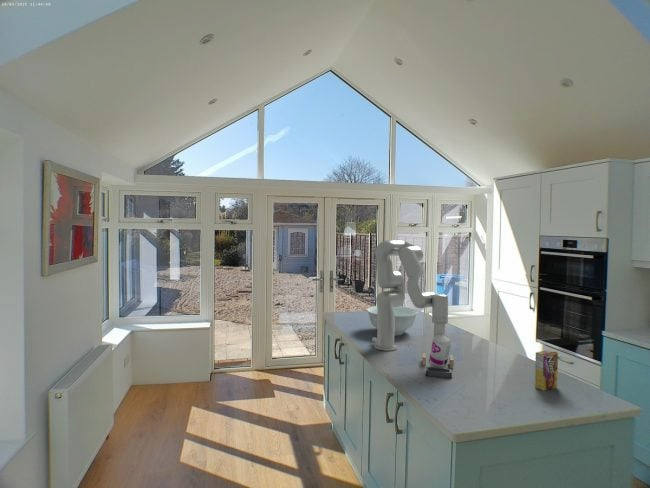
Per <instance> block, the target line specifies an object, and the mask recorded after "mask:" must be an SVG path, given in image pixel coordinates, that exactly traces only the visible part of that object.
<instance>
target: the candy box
mask: <svg viewBox="0 0 650 488" xmlns="http://www.w3.org/2000/svg"><path fill="white" fill-rule="evenodd" d="M558 356H559V352H558V351H554V350H552V349H551V350H550V349H548V350H541V351H535V361H534V362H535V363H534V364H535V366H534V367H535V368H534V369H535V372H534V373H535V374H534V375H535V379H534V388H536V389H538V390H540V391H548V390H552V389H557V388H558V375H559V374H558V369H559V368H558V367H559V365H558V363H559V362H558V358H559V357H558Z"/></svg>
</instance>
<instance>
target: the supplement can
mask: <svg viewBox="0 0 650 488" xmlns="http://www.w3.org/2000/svg"><path fill="white" fill-rule="evenodd" d="M451 344H452V341H451V338H450V337H449V336H448V335H446V334H445V335H443V334H437V335H436V336H435V337H434V336H433V339H432V344H431V349H430V354H429V360H428V363H429V365H430V367H432V368H443V369H446V367H447V366H448V365H447V364H448V360H449V354H450V351H451V350H450V349H451Z"/></svg>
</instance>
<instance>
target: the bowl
mask: <svg viewBox="0 0 650 488" xmlns="http://www.w3.org/2000/svg"><path fill="white" fill-rule="evenodd" d="M392 309H393V312H394V315H395V331H394V337H395V336H402V335H403V334H404V333H405V332H406V331H408V330H410V329H411V328H412V327H413V326H414V324H415V320H416V316H417V315H419V312H418V311H417V310H416V309H414V308H410V307H407V306H402V305H401V306H399V307H393V308H392ZM366 312H367V313H368V317H369V320H370V323H371V324H372V326H373V327H374V328H375V329H377V323H378V311H377V305H373V306H369V307H368V308H366Z"/></svg>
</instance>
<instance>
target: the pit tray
mask: <svg viewBox="0 0 650 488" xmlns="http://www.w3.org/2000/svg"><path fill="white" fill-rule="evenodd" d="M425 372H426V373H425V374H426V377H433V378H443V379H452V378H453V377H452V376H453V373H452V372H453V371H452V368H444V369H443V368H433V367H432V366H426V369H425Z"/></svg>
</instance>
